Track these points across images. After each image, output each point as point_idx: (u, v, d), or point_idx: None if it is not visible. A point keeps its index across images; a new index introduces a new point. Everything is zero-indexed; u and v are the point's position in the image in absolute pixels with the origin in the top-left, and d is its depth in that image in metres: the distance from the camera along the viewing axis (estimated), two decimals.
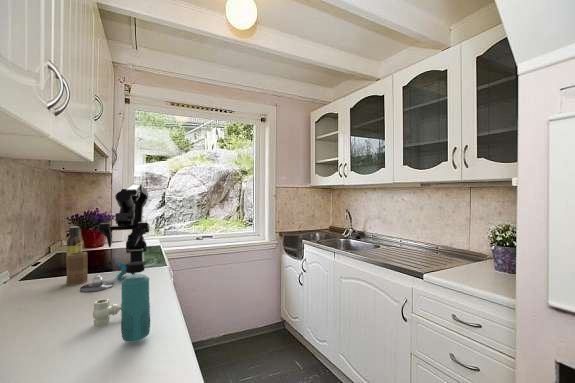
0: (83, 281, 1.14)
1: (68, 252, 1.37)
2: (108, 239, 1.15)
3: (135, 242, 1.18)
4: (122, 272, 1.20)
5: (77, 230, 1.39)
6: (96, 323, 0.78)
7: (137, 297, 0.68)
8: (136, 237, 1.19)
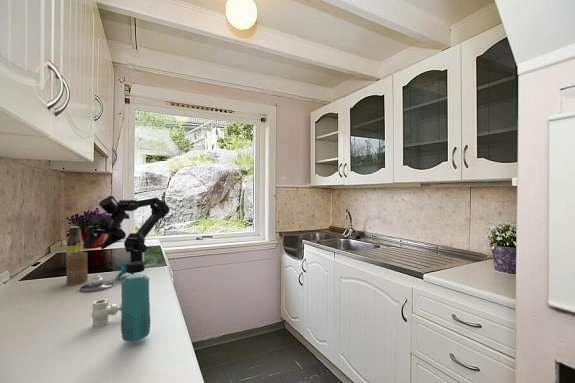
0: (83, 281, 1.14)
1: (68, 252, 1.37)
2: (87, 240, 1.25)
3: (102, 245, 1.21)
4: (121, 272, 1.20)
5: (77, 230, 1.39)
6: (95, 323, 0.78)
7: (137, 297, 0.68)
8: (105, 241, 1.22)
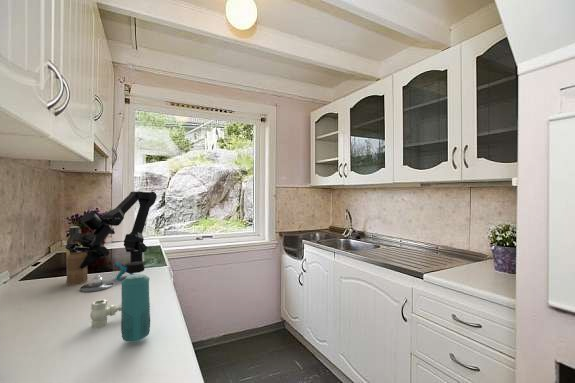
0: (83, 281, 1.14)
1: (68, 252, 1.37)
2: None
3: (82, 264, 1.13)
4: (121, 272, 1.20)
5: (77, 230, 1.39)
6: (94, 324, 0.78)
7: (137, 297, 0.68)
8: (85, 259, 1.14)
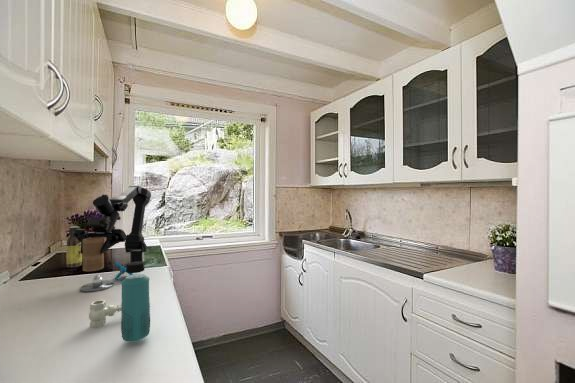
0: (102, 266, 1.11)
1: (68, 252, 1.37)
2: (82, 245, 1.10)
3: (102, 249, 1.09)
4: (120, 272, 1.20)
5: None
6: (92, 324, 0.77)
7: (137, 297, 0.68)
8: (104, 244, 1.11)
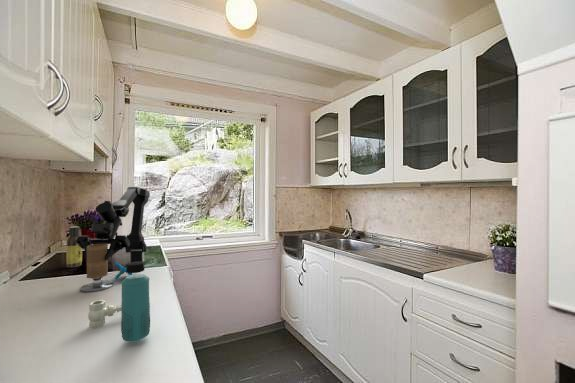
0: (106, 273, 1.10)
1: (68, 252, 1.37)
2: (85, 252, 1.09)
3: (106, 256, 1.09)
4: (120, 272, 1.20)
5: (77, 230, 1.39)
6: (92, 325, 0.77)
7: (137, 297, 0.68)
8: (108, 251, 1.11)
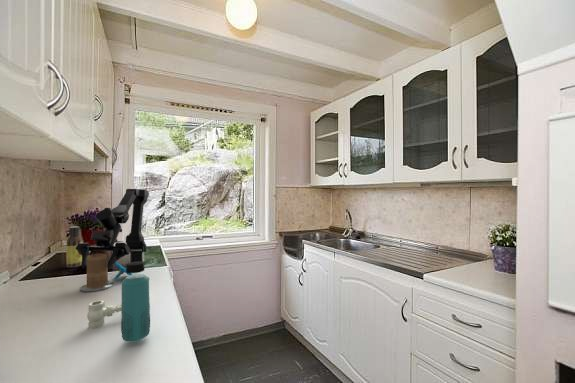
0: (106, 282, 1.10)
1: (68, 252, 1.37)
2: (83, 259, 1.09)
3: (109, 263, 1.09)
4: (119, 272, 1.20)
5: (77, 230, 1.39)
6: (91, 325, 0.77)
7: (137, 297, 0.68)
8: (111, 258, 1.11)
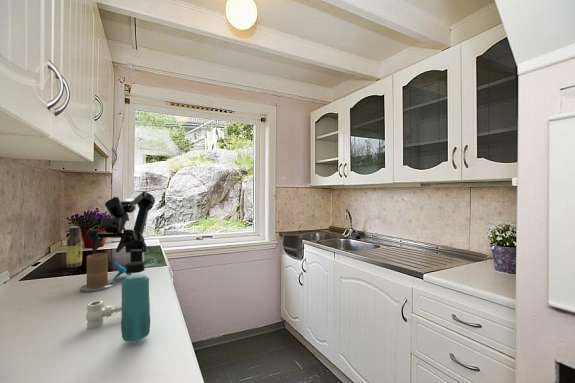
0: (106, 282, 1.10)
1: (68, 252, 1.37)
2: (93, 245, 1.16)
3: (117, 248, 1.16)
4: (119, 272, 1.20)
5: (77, 230, 1.39)
6: (90, 325, 0.77)
7: (137, 297, 0.68)
8: (119, 244, 1.17)
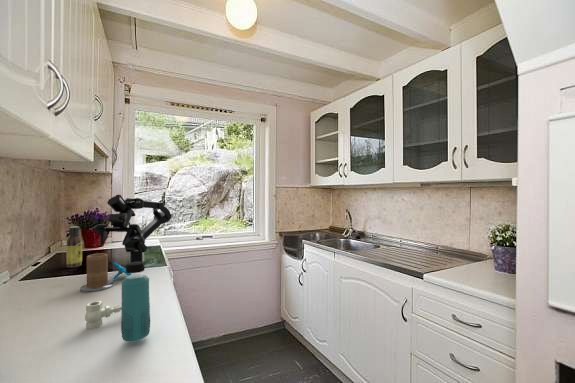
0: (106, 282, 1.10)
1: (68, 252, 1.37)
2: (101, 238, 1.26)
3: (123, 241, 1.26)
4: None
5: (77, 230, 1.39)
6: (89, 326, 0.77)
7: (137, 297, 0.68)
8: (125, 237, 1.28)
